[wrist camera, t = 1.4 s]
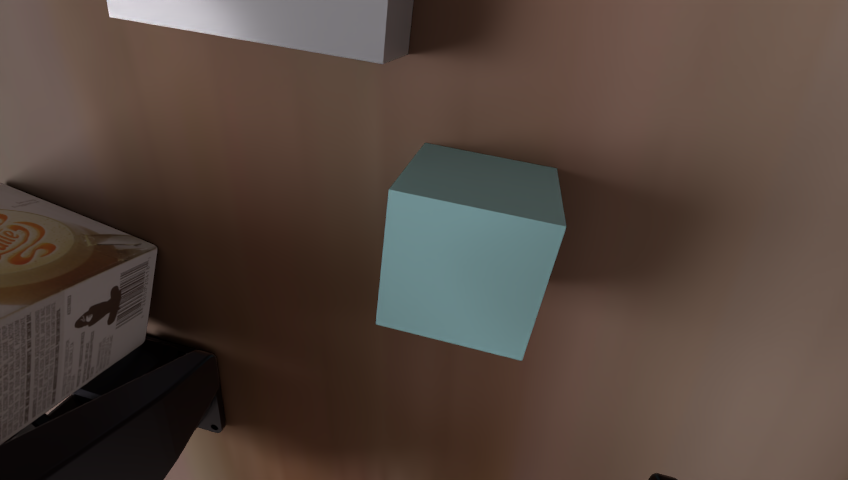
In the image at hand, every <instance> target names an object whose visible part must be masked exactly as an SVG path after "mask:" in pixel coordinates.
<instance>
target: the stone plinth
mask: <svg viewBox="0 0 848 480" xmlns="http://www.w3.org/2000/svg"><path fill="white" fill-rule="evenodd" d="M413 2H414V0H107V5H108V10H109V15H110V17H113V18H119V19H125V20H131V21H137V22H142V23H148V24H154V25H160V26H166V27H171V28H177V29H183V30H189V31H195V32H200V33H206V34H212V35H218V36H223V37H229V38H235V39H241V40H247V41H252V42H258V43H264V44H270V45H276V46H281V47H287V48H293V49H299V50H305V51H310V52H316V53H322V54H328V55H334V56H339V57H345V58H351V59H357V60H363V61H368V62H374V63H380V64H384V63H387V62H390V61H392V60H395V59H397V58H400V57H403V56H405V55H408V50H409V40H410V31H411V21H412V11H413Z"/></svg>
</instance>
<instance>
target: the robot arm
mask: <svg viewBox="0 0 848 480" xmlns="http://www.w3.org/2000/svg"><path fill="white" fill-rule="evenodd" d="M225 425H226V424H225V417H224V410H223V403H222V396H221V389H220V382H219V373H218V366H217V359H216V357H215V355H214V354H212V353H208V352H204V351H201V350H196V349H193V348H189V347H185V346H182V345H178V344H174V343H170V342H167V341H163V340H159V339H156V338H152V337H148V336H146V338H145V341H144V343H143V344H142V345H140V346H139V347H137V348H136V349H134V350H133V351H132V352H130V353H129V354H128V355H126V356H125V357H123V358H122V359H120V360H119V361H117V362H116V363H114V364H113V365H112V366H111V367H109V368H108V369H106V370H105V371H103V372H102V373H100V374H99V375H98V376H96V377H95V378H94V379H92V380H90V381H89V382H88V383H87V384H85V385H84V386H82V387H81V388H80V389H78V390H77V391H75V392H74V393H72V395H70V396H69V397H68V398H67V399H66V400H64V401H63V402H62V403H61V404H60V405H59V406H57V407H56V408H55V409H54V410H53V411H51V412H50V413H49V414H48V415H46V414H45V413H44V414H43V415H42V416H40V417H39V418H37V419H36V420H35V421H33V422H32V423H30V424H29V425H28V426H26V427H25V428H23V429H22V430H20V431H19V432H18V433H16V434H15V435H13V436H12V437H11V438H9V439H8V440H6V441H5V442H4V443H2V444H1V445H0V480H163V479H164V478H165V477H166V475H167V474H168V472H169V471H170V470H171V468H172V467H173V465H174V464H175V462H176V461H177V459H178V458H179V456H180V454H181V453H182V451H183V449H184V448H185V446H186V444H187V443H188V441H189V439H190V437H191V436H192V434H193V432H194V431H195V430H196V428H197V427H198V428H202V429H205V430H209V431H212V432H215V433H220V432H221V431H222V430H223V428H224V427H225ZM649 480H677V479H676V478H673V477H670V476H666V475H662V474H659V473H655V474H652V475H651V476H650V478H649Z"/></svg>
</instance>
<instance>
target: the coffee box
mask: <svg viewBox="0 0 848 480" xmlns="http://www.w3.org/2000/svg"><path fill="white" fill-rule="evenodd" d="M156 257H157V247H156V246H155V245H153V244H151V243H149V242H146V241H144V240H141V239H139V238H136V237H134V236H131V235H129V234H126V233H124V232H122V231H119V230H117V229H114V228H112V227H109V226H107V225H104V224H102V223H99V222H97V221H94V220H92V219H89V218H87V217H85V216H82V215H80V214H77V213H75V212H72V211H70V210H67V209H65V208H62V207H60V206H57V205H55V204H52V203H50V202H47V201H45V200H42V199H40V198H37V197H35V196H32V195H30V194H27V193H25V192H22V191H20V190H17V189H15V188H12V187H10V186H7V185H5V184H2V183H0V445H1V444H2V443H4V442H5V441H6V440H8V439H9V438H11V437H12V436H13V435H15V434H16V433H18V432H19V431H20V430H22V429H23V428H25V427H26V426H28V425H29V424H30V423H32V422H33V421H35V420H36V419H37V418H39V417H40V416H42V415H43V414H44V413H46V412H47V411H49V410H50V409H51V408H53V407H54V406H55V405H57V404H58V403H60V402H61V401H62V400H64V399H65V398H67V397H68V396H70V395H71V394H72V393H74V392H75V391H77V390H78V389H80V388H81V387H82V386H84V385H85V384H87V383H88V382H89V381H90V380H92V379H94V378H95V377H96V376H98V375H99V374H100V373H102V372H103V371H105V370H106V369H108V368H109V367H111V366H112V365H113V364H114V363H116V362H117V361H119V360H120V359H122V358H123V357H125V356H126V355H128V354H129V353H130V352H132V351H133V350H134V349H136V348H137V347H139V346H140V345H142V344H143V343H144V341H145V338H146V331H147V324H148V316H149V309H150V302H151V295H152V287H153V279H154V272H155V264H156Z"/></svg>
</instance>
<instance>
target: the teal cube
mask: <svg viewBox="0 0 848 480" xmlns="http://www.w3.org/2000/svg"><path fill="white" fill-rule="evenodd" d="M565 230H566V221H565V215H564V209H563V203H562V197H561V191H560V185H559V178H558V172H557V168H552V167H547V166H542V165H537V164H532V163H526V162H521V161H516V160H511V159H506V158H501V157H496V156H490V155H485V154H480V153H475V152H470V151H465V150H460V149H455V148H449V147H444V146H439V145H434V144H429V143H424V145H423V146H422V147H421V149H420V150H419V151H418V152H417V154H416V155H415V156H414V158H413V159H412V160H411V161H410V163H409V164H408V165H407V167H406V168H405V169H404V171H403V172H402V173H401V174H400V176H399V177H398V178H397V180H396V181H395V182H394V183H393V185H392V186H391V187H390V189H389V193H388V203H387V213H386V224H385V234H384V244H383V254H382V264H381V275H380V285H379V295H378V305H377V315H376V324H377V325H381V326H385V327H389V328H393V329H397V330H401V331H405V332H409V333H413V334H417V335H421V336H425V337H429V338H433V339H437V340H441V341H445V342H449V343H453V344H457V345H461V346H465V347H469V348H473V349H477V350H481V351H485V352H489V353H493V354H497V355H501V356H505V357H509V358H513V359H517V360H521V361H522V359H523V356H524V353H525V350H526V347H527V344H528V341H529V338H530V335H531V332H532V329H533V326H534V323H535V320H536V317H537V314H538V311H539V308H540V305H541V302H542V299H543V296H544V293H545V290H546V287H547V284H548V281H549V278H550V275H551V272H552V269H553V266H554V263H555V260H556V257H557V254H558V251H559V248H560V245H561V242H562V239H563V236H564V233H565Z"/></svg>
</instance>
